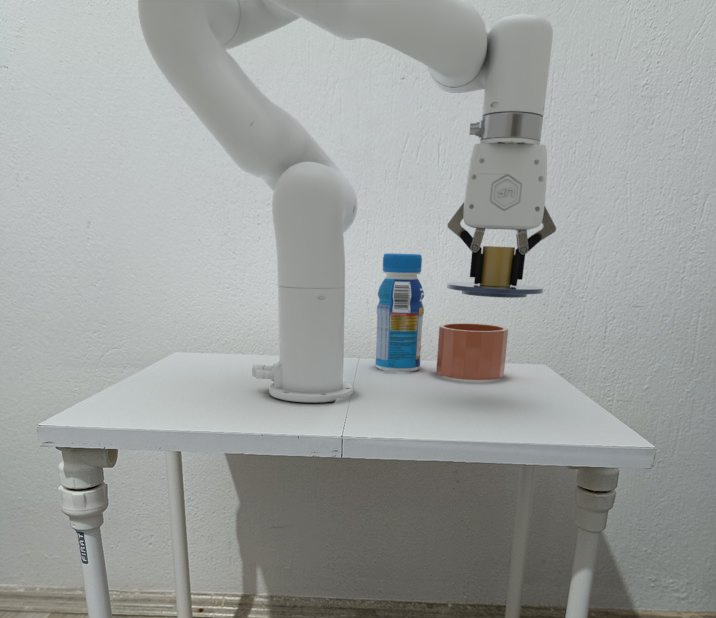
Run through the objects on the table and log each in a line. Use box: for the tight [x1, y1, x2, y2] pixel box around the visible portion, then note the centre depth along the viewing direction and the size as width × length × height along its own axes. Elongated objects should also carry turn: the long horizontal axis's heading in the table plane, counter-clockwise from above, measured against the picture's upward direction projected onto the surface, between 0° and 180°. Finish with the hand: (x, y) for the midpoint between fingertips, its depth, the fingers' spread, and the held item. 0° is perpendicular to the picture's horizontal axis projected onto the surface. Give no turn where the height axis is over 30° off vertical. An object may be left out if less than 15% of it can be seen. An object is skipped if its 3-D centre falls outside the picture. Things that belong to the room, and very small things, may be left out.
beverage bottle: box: [375, 252, 425, 373], centre depth 118 cm, size 8×8×20 cm
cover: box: [446, 245, 544, 299], centre depth 89 cm, size 13×13×6 cm
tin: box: [435, 322, 509, 381], centre depth 115 cm, size 12×12×8 cm
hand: (495, 282), depth 90 cm, fingers closed on cover, 4 cm apart
